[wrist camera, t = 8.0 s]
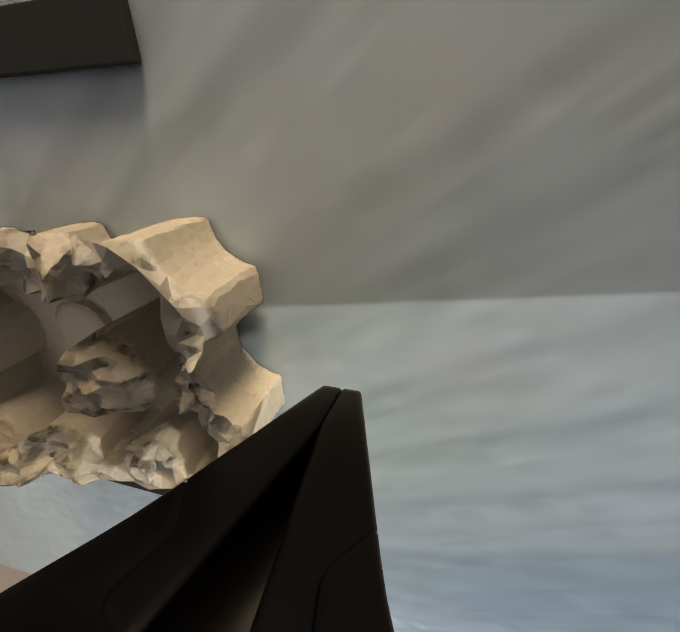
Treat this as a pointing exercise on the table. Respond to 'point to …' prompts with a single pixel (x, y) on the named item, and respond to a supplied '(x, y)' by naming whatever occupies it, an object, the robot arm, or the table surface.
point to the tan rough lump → (125, 354)
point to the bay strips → (67, 46)
